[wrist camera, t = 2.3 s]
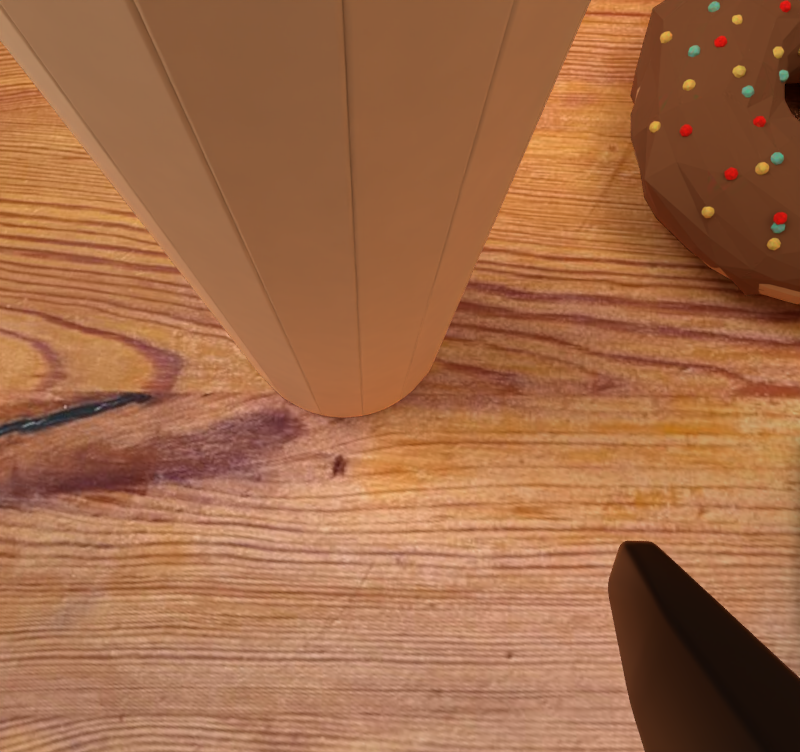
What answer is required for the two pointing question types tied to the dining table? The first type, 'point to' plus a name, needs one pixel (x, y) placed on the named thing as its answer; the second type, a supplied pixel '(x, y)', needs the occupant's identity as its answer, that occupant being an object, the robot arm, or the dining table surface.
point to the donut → (724, 136)
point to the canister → (308, 159)
